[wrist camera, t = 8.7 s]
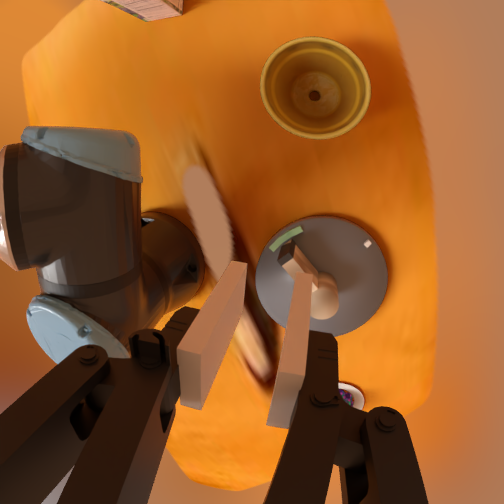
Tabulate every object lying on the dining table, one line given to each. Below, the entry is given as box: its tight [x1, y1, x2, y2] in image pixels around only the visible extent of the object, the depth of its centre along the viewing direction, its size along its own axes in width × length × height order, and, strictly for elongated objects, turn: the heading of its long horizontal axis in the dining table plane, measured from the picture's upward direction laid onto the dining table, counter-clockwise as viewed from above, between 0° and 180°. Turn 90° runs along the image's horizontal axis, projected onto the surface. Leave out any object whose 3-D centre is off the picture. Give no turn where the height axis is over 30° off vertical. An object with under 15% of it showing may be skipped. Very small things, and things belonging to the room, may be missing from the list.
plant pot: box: [260, 37, 371, 140], centre depth 30 cm, size 10×10×10 cm
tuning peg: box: [277, 239, 339, 320], centre depth 38 cm, size 10×4×5 cm, turn 41°
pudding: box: [339, 383, 364, 410], centre depth 50 cm, size 12×12×5 cm
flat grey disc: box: [256, 215, 388, 337], centre depth 42 cm, size 18×18×2 cm
